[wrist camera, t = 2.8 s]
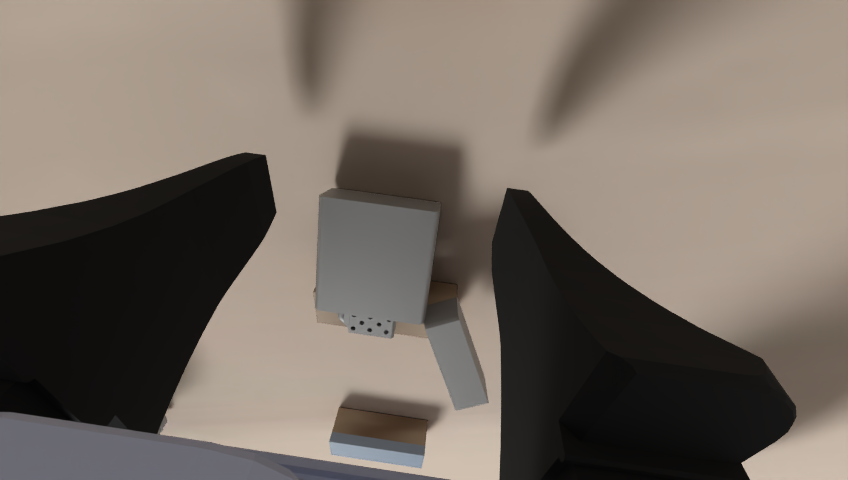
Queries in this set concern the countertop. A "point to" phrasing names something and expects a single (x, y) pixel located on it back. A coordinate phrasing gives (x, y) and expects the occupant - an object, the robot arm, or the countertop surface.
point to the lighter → (392, 279)
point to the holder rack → (384, 432)
